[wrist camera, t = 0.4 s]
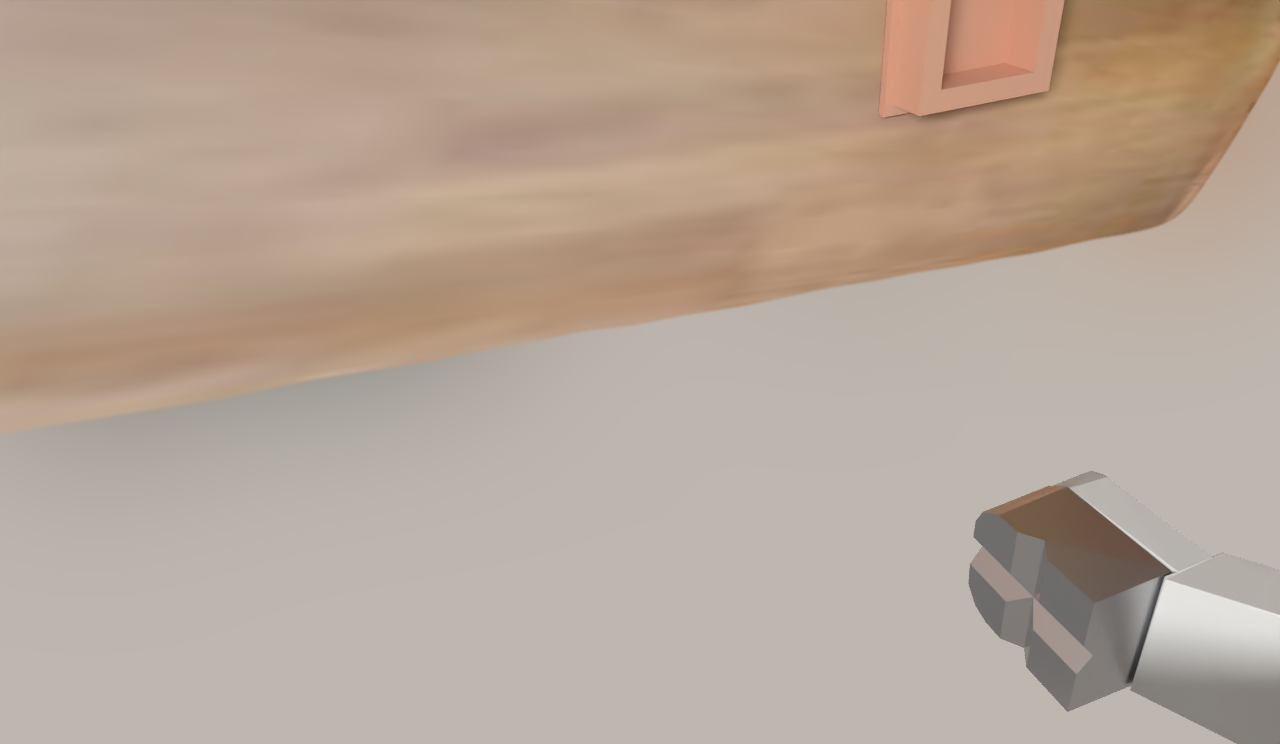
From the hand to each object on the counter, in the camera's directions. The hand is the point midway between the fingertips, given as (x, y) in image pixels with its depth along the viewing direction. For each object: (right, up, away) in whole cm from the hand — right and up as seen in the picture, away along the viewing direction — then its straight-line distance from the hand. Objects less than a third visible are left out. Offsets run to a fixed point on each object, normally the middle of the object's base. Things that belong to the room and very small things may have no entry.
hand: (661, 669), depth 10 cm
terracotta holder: (+22, +28, +51) cm, 62 cm away
